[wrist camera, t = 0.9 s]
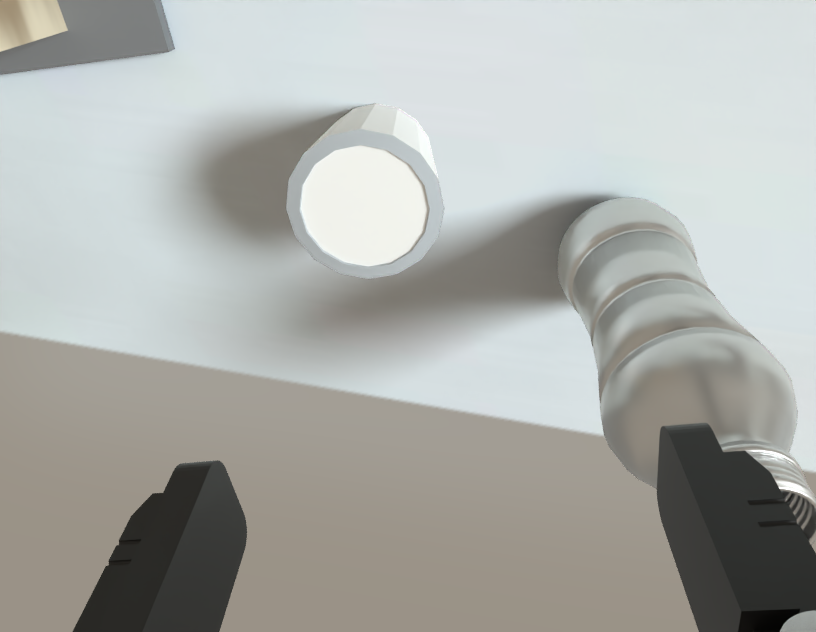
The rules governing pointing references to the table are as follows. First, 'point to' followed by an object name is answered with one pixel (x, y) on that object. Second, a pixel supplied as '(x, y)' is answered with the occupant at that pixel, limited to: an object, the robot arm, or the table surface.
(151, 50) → the board
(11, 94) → the table surface
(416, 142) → the white cylinder
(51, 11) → the pale birch block
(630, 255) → the plastic bottle
